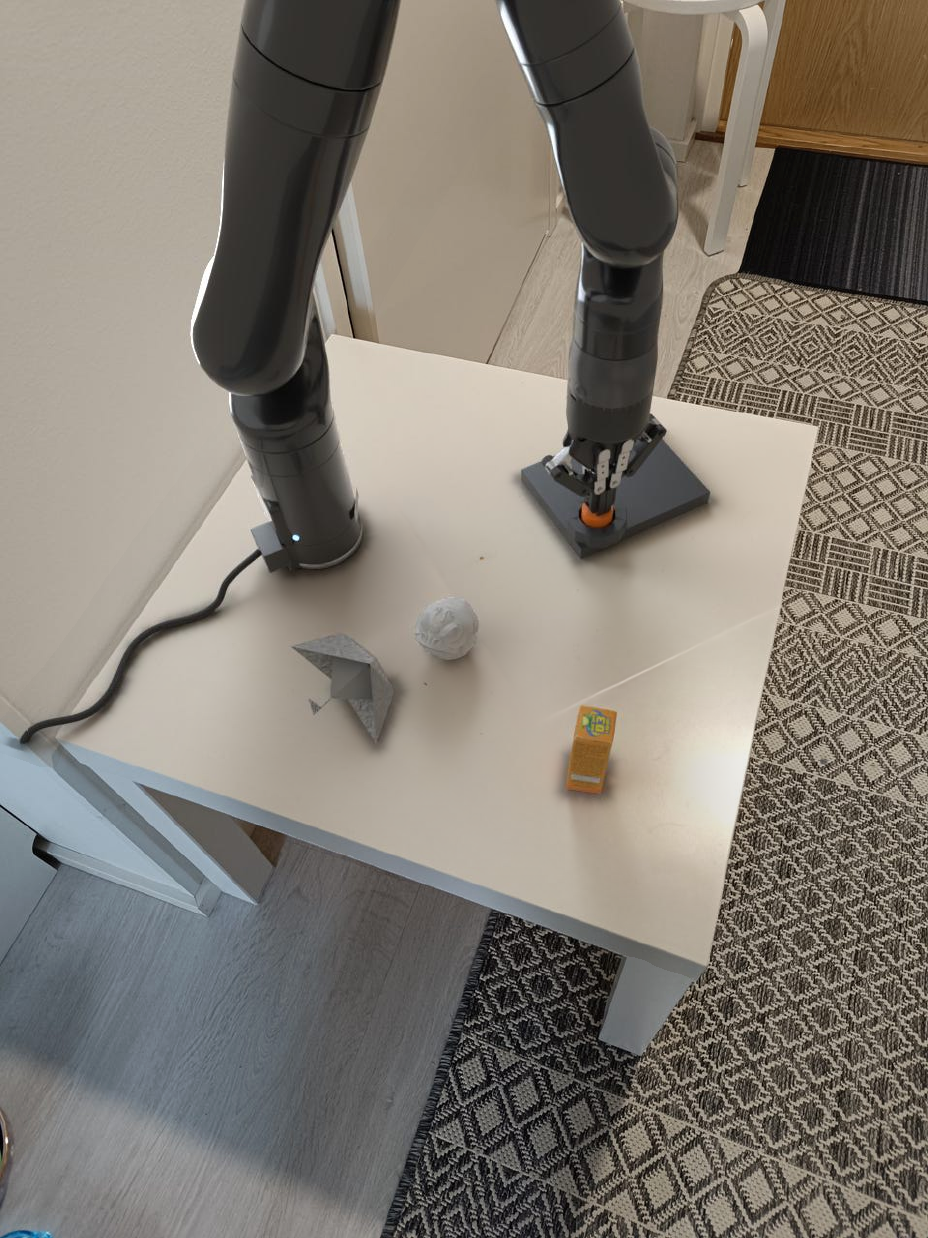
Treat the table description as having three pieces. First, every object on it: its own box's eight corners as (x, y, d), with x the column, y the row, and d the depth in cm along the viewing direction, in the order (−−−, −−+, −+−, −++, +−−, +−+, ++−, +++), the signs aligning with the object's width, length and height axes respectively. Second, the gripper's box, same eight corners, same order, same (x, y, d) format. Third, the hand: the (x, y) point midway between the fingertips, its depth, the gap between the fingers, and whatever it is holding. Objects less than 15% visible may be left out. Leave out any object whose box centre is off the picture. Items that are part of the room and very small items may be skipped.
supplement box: (604, 796, 79) (613, 745, 71) (565, 790, 80) (569, 739, 72) (608, 762, 81) (617, 709, 73) (570, 756, 82) (575, 702, 74)
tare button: (591, 535, 93) (592, 524, 91) (575, 515, 94) (576, 503, 93) (617, 523, 93) (619, 512, 92) (601, 503, 95) (602, 492, 94)
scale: (585, 566, 94) (586, 545, 91) (520, 480, 101) (520, 457, 98) (713, 509, 97) (719, 486, 94) (642, 429, 105) (645, 406, 102)
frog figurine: (405, 665, 88) (396, 626, 83) (439, 612, 92) (433, 571, 86) (460, 689, 87) (455, 650, 81) (492, 634, 90) (490, 593, 84)
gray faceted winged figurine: (432, 691, 85) (374, 753, 79) (400, 712, 90) (343, 772, 84) (347, 596, 84) (282, 651, 78) (319, 623, 89) (255, 677, 83)
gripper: (652, 326, 82) (633, 462, 96) (523, 376, 79) (524, 508, 93) (700, 374, 78) (673, 508, 92) (566, 429, 75) (560, 558, 89)
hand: (598, 508), depth 93 cm, fingers closed
